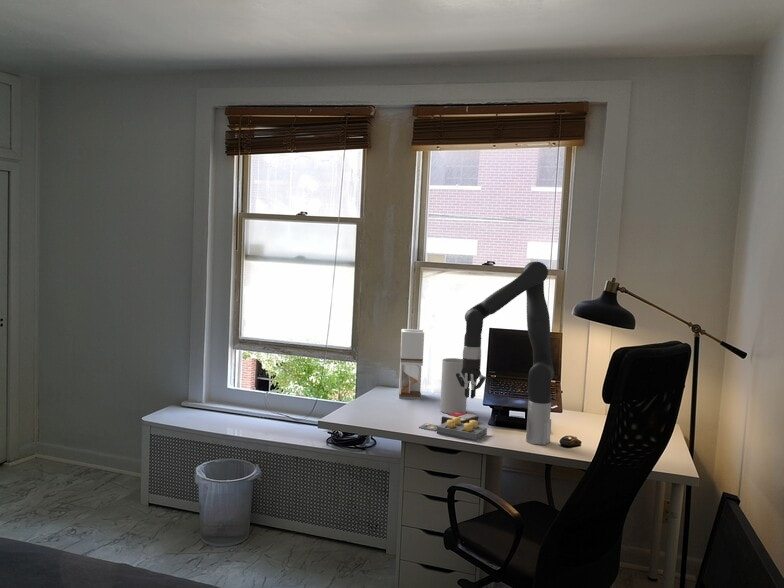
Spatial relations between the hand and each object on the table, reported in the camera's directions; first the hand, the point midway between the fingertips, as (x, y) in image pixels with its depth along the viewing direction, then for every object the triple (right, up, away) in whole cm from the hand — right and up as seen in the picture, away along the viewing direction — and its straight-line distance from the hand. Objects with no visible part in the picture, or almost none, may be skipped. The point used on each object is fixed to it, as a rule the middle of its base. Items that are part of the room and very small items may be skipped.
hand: (469, 397), depth 273 cm
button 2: (-5, -13, +10) cm, 17 cm away
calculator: (-2, -16, +23) cm, 28 cm away
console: (-3, -17, +6) cm, 18 cm away
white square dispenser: (-23, -11, +70) cm, 74 cm away
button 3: (-1, -14, +1) cm, 14 cm away
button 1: (-7, -14, +5) cm, 16 cm away
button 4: (+2, -14, +6) cm, 15 cm away
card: (-16, -15, +13) cm, 26 cm away
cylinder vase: (-3, -14, +43) cm, 45 cm away
